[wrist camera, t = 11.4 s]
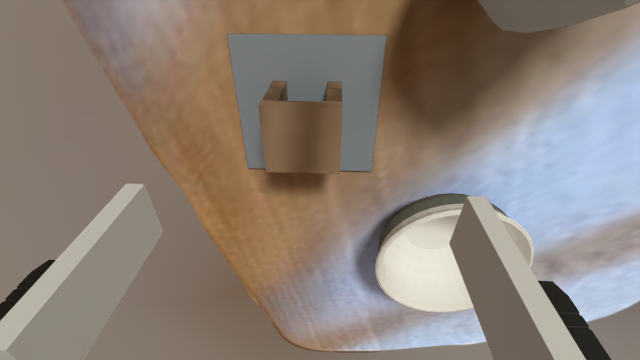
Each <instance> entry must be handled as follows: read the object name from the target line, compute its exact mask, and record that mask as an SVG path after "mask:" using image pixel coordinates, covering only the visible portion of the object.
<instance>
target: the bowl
mask: <svg viewBox="0 0 640 360" xmlns="http://www.w3.org/2000/svg"><path fill="white" fill-rule="evenodd" d="M467 196H469V195H464V194H453V193H449V194H438V195H434V196H429V197H425V198H423V199H420V200H418V201H415V202H413V203H411V204H410V205H408V206H406V207H405V208H403V209H402V210H401V211H400V212H398V213H397V214H396V215H395V216H394V217H393V218H392V220H391V221H390V222H389V223H388V225H387V227H386V228H385V230H384V232H383V234H382V236H381V238H380V243H379V254H378V256H377V259H376V264H375V275H376V279H377V281H378V284H379V286H380V287H381V288H382V289H383V291H384V292H385V293H386V294H387V295H388V296H389V297H390V298H392V299H393V300H394V301H396V302H398V303H400V304H402V305H404V306H407V307H410V308H413V309H416V310H422V311H427V312H455V311H462V310H468V309H471V308H474V307H473V304H472V301H471V299H470V296H469V294H468V291H467V288H466V286H465V283H464V281H463V278H462V275H461V273H460V270H459V268H458V265H457V262H456V260H455V257H454V255H453V252H452V250H451V247H450V244H449V243H450V240H451V237H452V235H453V232H454V229H455V227H456V224H457V221H458V219H459V216H460V213H461V211H462V208H463V205H464V203H465V200H466V197H467ZM490 204H491V203H490ZM491 205H492V207H493V209H494V210H495V212H496V213H497V215H498V217H499V218H500V220H501V222H502V223H503V225H504V226H505V228H506V230H507V231H508V233H509V235H510V236H511V238H512V240H513V241H514V243H515V244H516V246H517V248H518V249H519V251H520V253H521V254H522V256H523V258H524V259H525V261H526V262H527V264H528V266H529V267H531V264H532V261H533V257H534V246H533V243H532V240H531V237H530V236H529V234H528V233H527V232H526V230H525V229H524V228H523V227H522V226H521V225H519V224H518V223H517V222H515V221H514V220H513V219H510V218H508V217H507V216H506V214H505V213H504V212H503V211H502V210H500V209H499V208H498V207H496V206H495V205H494V204H491Z"/></svg>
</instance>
